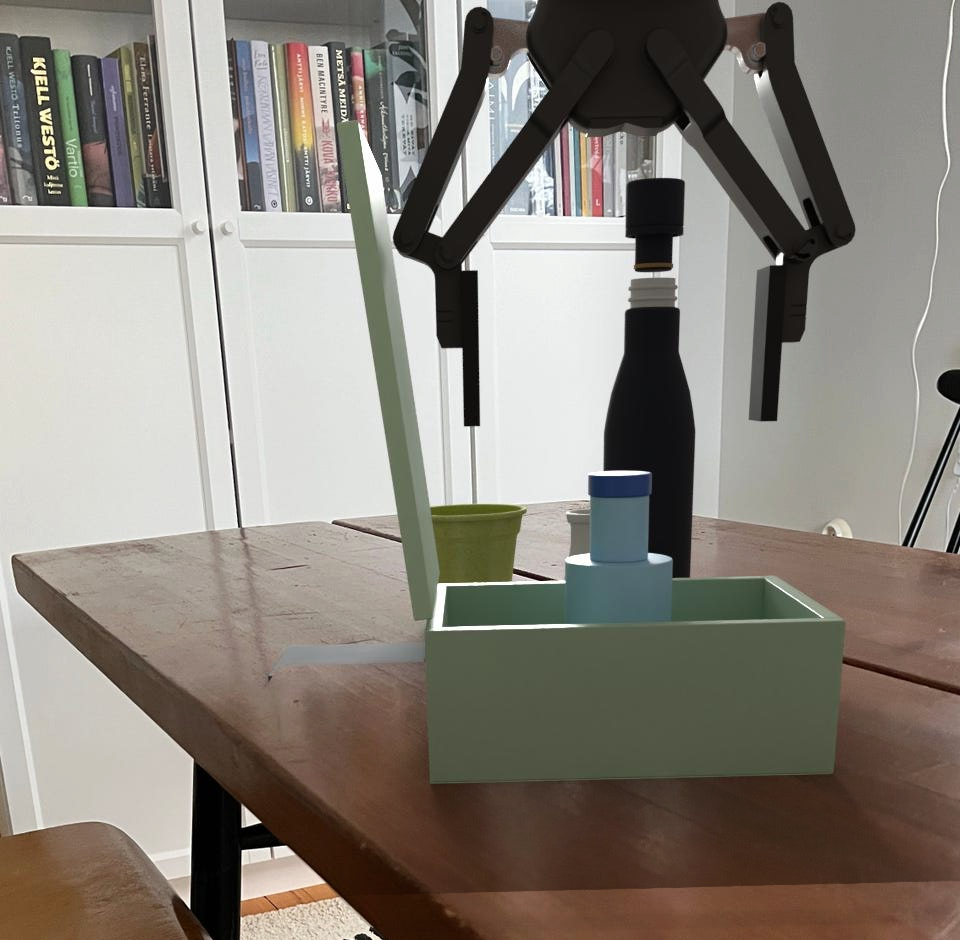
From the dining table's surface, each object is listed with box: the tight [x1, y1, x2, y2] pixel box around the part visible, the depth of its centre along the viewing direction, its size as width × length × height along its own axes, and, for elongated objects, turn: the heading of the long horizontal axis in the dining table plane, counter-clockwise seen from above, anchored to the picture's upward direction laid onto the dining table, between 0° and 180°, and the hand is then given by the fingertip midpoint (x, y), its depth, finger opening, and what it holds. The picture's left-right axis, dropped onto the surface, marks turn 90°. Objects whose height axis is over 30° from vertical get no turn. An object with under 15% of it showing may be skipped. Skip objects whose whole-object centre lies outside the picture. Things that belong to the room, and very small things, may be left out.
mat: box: [267, 641, 425, 682], centre depth 86 cm, size 10×10×1 cm
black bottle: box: [602, 177, 696, 578], centre depth 88 cm, size 6×6×30 cm
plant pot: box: [430, 503, 528, 584], centre depth 100 cm, size 9×9×9 cm
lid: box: [336, 119, 440, 622], centre depth 58 cm, size 19×14×1 cm
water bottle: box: [564, 471, 673, 624], centre depth 62 cm, size 5×5×13 cm
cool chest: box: [423, 575, 847, 785], centre depth 63 cm, size 19×14×8 cm
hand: (617, 424), depth 59 cm, fingers open, 13 cm apart
